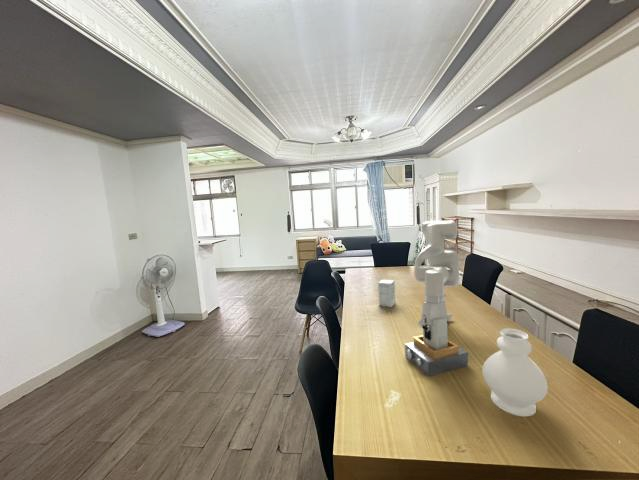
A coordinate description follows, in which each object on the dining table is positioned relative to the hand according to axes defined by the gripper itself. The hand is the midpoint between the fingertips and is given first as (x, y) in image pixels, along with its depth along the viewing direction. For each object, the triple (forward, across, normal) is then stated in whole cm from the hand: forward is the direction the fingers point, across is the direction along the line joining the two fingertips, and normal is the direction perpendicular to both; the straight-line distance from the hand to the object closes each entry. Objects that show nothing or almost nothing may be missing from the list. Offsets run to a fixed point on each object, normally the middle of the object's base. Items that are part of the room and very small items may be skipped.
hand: (434, 336), depth 117 cm
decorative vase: (+11, -7, +30) cm, 33 cm away
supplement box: (+12, -16, -69) cm, 72 cm away
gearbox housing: (+11, 0, 0) cm, 11 cm away
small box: (+4, 0, 0) cm, 4 cm away
